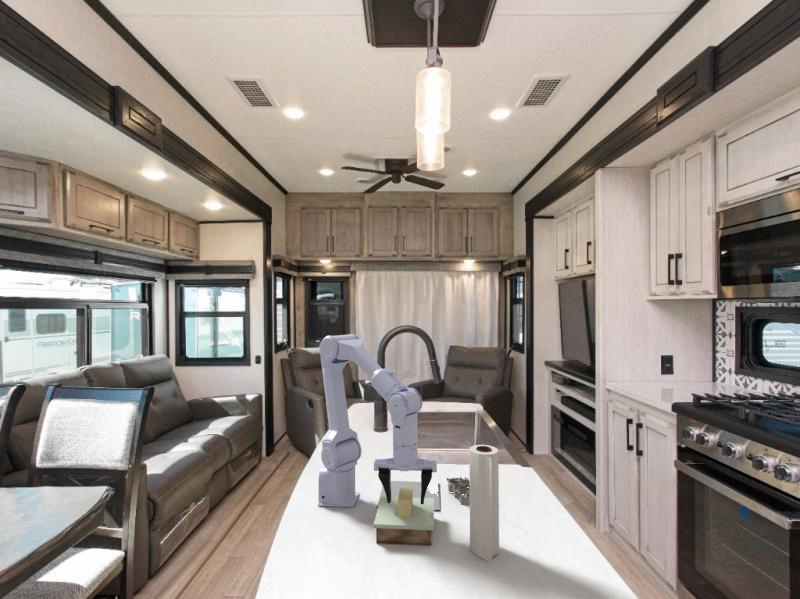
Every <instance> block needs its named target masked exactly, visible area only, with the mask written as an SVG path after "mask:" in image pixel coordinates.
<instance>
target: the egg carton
mask: <svg viewBox="0 0 800 599" xmlns="http://www.w3.org/2000/svg"><path fill="white" fill-rule="evenodd" d="M446 482H447V492H448V491H449V492H453V493H454V494H453V493H452V494H453V498H454V497H455V498H459V499H458V500H459V502H460V503H461V504H460V503H459V502H458V503H459V504H460V505H464V504H466V505H465V506H467V505H469V506H470V496H469V497H468V494H466V493H468V492H469V491H470V479H469V478H467V477H464V478H462V477H461V476H460V477H452V478H448V477H446ZM467 487H469V488H467ZM467 489H468V492H467ZM449 492H448V493H449ZM462 494H464V495H462ZM465 494H466V495H465ZM455 498H454V499H455Z"/></svg>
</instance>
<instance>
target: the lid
mask: <svg viewBox="0 0 800 599" xmlns="http://www.w3.org/2000/svg"><path fill="white" fill-rule="evenodd" d="M434 513H435V511H434V498H424V504H421V498H414V497H413V488H400V491H399V497H391V502H390V503H387V497H385V496H381V499H380V503H379V507H378V509H377V511H376V514H375V518H374V522H373V529H374V528H375V529H376V528H388V529H412V530H432V531H434V530H435V528H434V527H435V525H434V524H435V520H434V518H435V516H434V515H435V514H434Z"/></svg>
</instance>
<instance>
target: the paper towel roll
mask: <svg viewBox="0 0 800 599" xmlns="http://www.w3.org/2000/svg"><path fill="white" fill-rule="evenodd" d="M499 466H500V465H499V449H498V448H497V447H495V446H493V445H488V444H475V445H472V446H470V447H469V481H470V492H469V497H470V505H469V547H470V550H471V552H472V553H473V554H475V555H476V556H477V557H478V558H481V559H482V560H486V561H488V562H489V563H490V564H493V557H496V556H497V554H499V552H500V504H499V503H500V501H499V498H500V497H499V496H500V494H499V486H500V480H499V469H500V468H499Z"/></svg>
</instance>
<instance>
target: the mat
mask: <svg viewBox="0 0 800 599" xmlns="http://www.w3.org/2000/svg"><path fill="white" fill-rule="evenodd" d="M400 488H413V497H414V498H421V481H407V480H405V481H404V480H403V481H402V480H391V497H399V491H400ZM427 490H428V488H427ZM427 490H426V493H425V497H424V498H434V510H441V509H440V506H441V504H440V503H441V502H440V494H439V495H438V496H437V494H435V493H434V494H431V493H430V492H429V491H430V490H429V491H427ZM437 493H438V492H437ZM381 496H385V497H386V493H385V490H384V487H383V486H382V487H381V491H380V495H379V498H378V502H377V505H376V509H377V510H378V507H379V503H380V499H381Z"/></svg>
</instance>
